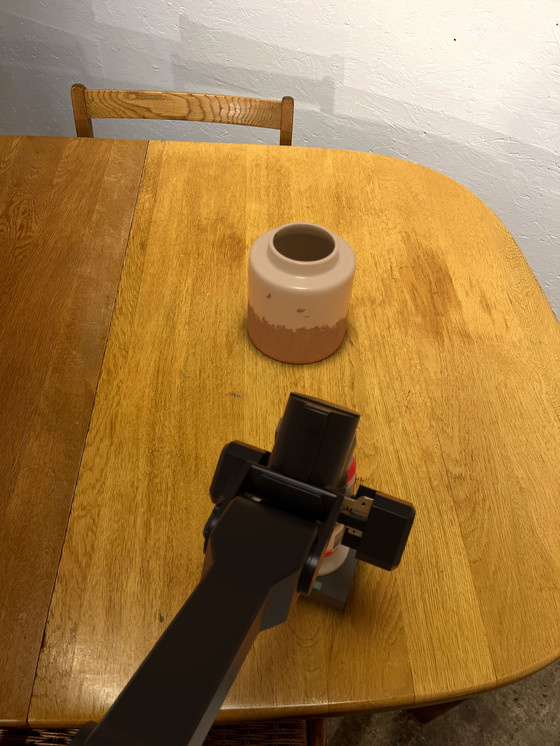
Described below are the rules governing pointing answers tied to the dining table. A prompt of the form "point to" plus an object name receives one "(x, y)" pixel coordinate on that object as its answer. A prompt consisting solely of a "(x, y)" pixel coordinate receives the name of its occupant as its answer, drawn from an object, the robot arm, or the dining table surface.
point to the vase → (299, 292)
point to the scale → (334, 578)
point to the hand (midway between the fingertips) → (324, 488)
